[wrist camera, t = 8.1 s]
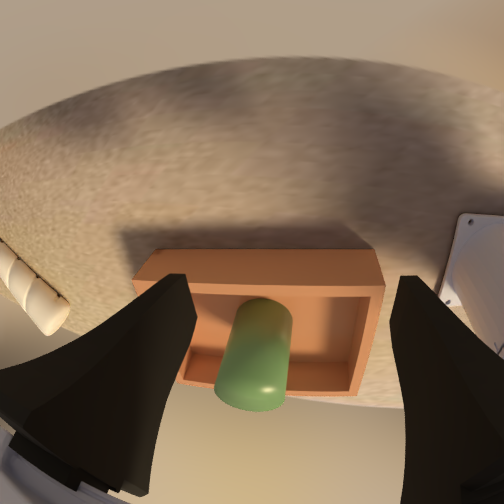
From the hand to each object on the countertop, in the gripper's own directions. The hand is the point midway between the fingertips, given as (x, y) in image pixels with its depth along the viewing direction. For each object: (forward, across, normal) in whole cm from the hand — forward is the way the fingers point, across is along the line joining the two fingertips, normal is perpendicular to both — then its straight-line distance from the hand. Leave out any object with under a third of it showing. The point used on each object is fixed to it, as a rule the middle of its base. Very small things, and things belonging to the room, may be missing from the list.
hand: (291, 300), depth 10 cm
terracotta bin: (+10, +3, +10) cm, 14 cm away
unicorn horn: (+10, +34, +5) cm, 36 cm away
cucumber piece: (+9, +3, +10) cm, 14 cm away
